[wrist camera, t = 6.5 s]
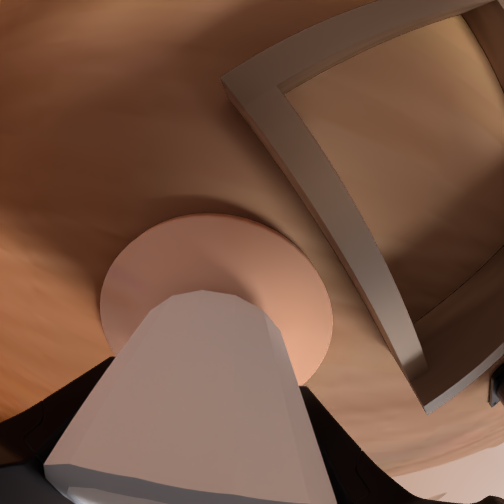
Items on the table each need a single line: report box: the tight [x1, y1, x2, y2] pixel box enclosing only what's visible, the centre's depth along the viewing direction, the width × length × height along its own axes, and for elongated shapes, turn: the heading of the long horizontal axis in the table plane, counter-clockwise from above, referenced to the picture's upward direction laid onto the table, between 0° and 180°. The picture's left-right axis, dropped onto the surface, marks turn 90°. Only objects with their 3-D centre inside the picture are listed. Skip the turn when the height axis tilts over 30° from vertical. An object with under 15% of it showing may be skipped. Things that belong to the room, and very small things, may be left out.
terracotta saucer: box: [100, 213, 333, 386], centre depth 12 cm, size 10×10×1 cm
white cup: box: [44, 290, 337, 504], centre depth 7 cm, size 7×7×7 cm
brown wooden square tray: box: [220, 0, 504, 415], centre depth 7 cm, size 14×14×4 cm
